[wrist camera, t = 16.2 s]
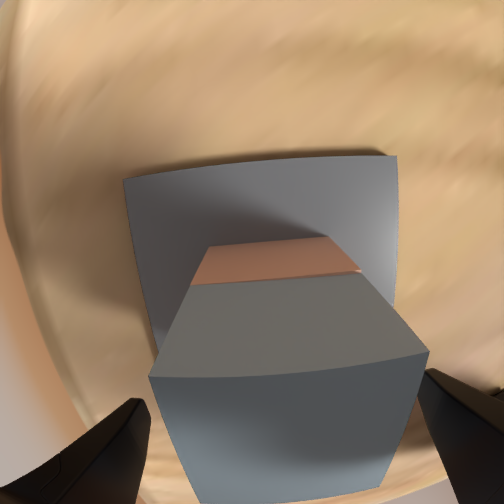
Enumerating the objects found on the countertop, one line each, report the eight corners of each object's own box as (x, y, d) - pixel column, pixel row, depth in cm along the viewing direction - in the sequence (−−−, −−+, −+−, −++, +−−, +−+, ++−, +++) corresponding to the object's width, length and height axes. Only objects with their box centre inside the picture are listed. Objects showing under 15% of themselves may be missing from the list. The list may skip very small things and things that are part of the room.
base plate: (378, 370, 19) (382, 379, 18) (175, 389, 19) (172, 398, 18) (388, 155, 15) (396, 155, 14) (130, 178, 15) (122, 179, 14)
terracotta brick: (328, 338, 17) (350, 395, 12) (223, 347, 17) (215, 408, 12) (328, 236, 15) (361, 269, 10) (208, 246, 15) (189, 285, 10)
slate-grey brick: (348, 398, 12) (379, 486, 7) (213, 408, 12) (200, 503, 7) (361, 273, 10) (429, 351, 6) (190, 285, 10) (147, 376, 6)
